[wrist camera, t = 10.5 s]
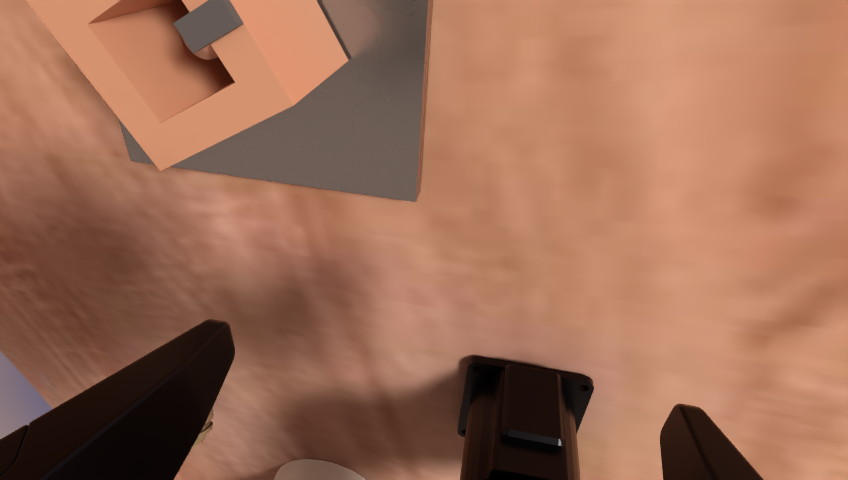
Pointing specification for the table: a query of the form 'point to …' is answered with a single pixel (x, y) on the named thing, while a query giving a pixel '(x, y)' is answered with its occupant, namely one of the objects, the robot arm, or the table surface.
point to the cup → (315, 471)
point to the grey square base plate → (342, 111)
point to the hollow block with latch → (194, 63)
